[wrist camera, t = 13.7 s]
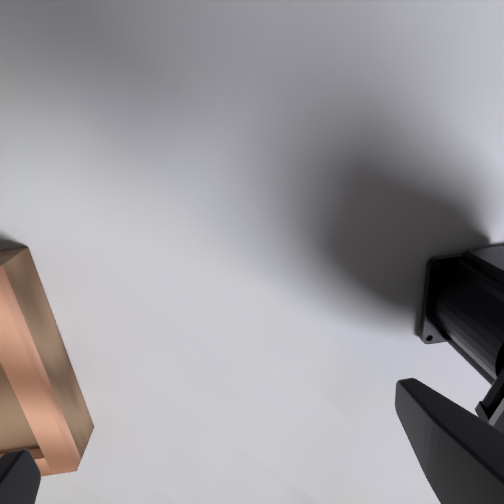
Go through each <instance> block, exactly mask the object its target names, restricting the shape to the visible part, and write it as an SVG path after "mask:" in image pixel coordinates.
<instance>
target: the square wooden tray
mask: <svg viewBox="0 0 504 504" xmlns="http://www.w3.org/2000/svg"><path fill="white" fill-rule="evenodd" d="M93 429H94V425H93V423H92V420H91V417H90V414H89V412H88V409H87V406H86V403H85V401H84V398H83V395H82V393H81V390H80V387H79V384H78V382H77V379H76V376H75V373H74V371H73V368H72V365H71V363H70V360H69V357H68V354H67V352H66V349H65V346H64V343H63V341H62V338H61V335H60V333H59V330H58V327H57V324H56V322H55V319H54V316H53V313H52V311H51V308H50V305H49V302H48V300H47V297H46V294H45V292H44V289H43V286H42V283H41V281H40V278H39V275H38V272H37V270H36V267H35V264H34V262H33V259H32V256H31V253H30V251H29V248H28V247H25V248H16V249H8V250H0V458H1V457H2V456H3V455H4V454H5V453H7V452H9V451H12V450H18V449H23V448H25V449H28V450H29V451H30V452H31V454H32V456H33V458H34V460H35V462H36V464H37V466H38V467H39V469H40V473H41V476H47V475H54V474H60V473H67V472H73V471H77V469H78V466H79V464H80V461H81V459H82V456H83V454H84V451H85V449H86V446H87V444H88V441H89V439H90V436H91V434H92V431H93Z"/></svg>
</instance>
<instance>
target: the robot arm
mask: <svg viewBox="0 0 504 504" xmlns="http://www.w3.org/2000/svg"><path fill="white" fill-rule="evenodd" d="M436 263H438V265H437V266H436V267H434V266H435V264H436ZM419 336H420V339H421V340H422V341H423V342H424V343H425V344H433V343H440V342H448V343H449V344H450V345H451V346H452V347H453V348H454V349H455V350H456V351H457V352H458V353H459V354H460V355H461V356H462V357H463V358H464V359H465V360H466V361H467V362H468V363H469V364H470V365H472V366H473V367H474V368H475V369H476V370H477V371H478V372H479V373H480V374H481V375H482V376H483V377H484V378H485V379H486V380H487V381H488V382H489V383H490V384H491V385H492V386H491V388H490V389H489V391H488V393H487V394H486V396H485V397H484V399H483V401H480V402H479V403H478V405H477V406H476V408H475V411H476V413H477V415H478V417H477V416H476V415H474V414H472V413H471V412H469V411H467V410H466V409H464V408H463V407H461V406H459V405H458V404H456V403H454V402H453V401H451V400H449V399H448V398H446V397H445V396H443V395H441V394H440V393H438V392H436V391H435V390H433V389H431V388H430V387H428V386H426V385H425V384H423V383H422V382H420V381H418V380H417V379H414V378H408V379H402V380H399V381H397V383H396V395H395V408H396V412H397V415H398V417H399V419H400V421H401V424H402V426H403V428H404V430H405V432H406V435H407V437H408V439H409V441H410V443H411V446H412V448H413V450H414V452H415V454H416V457H417V459H418V461H419V463H420V465H421V468H422V470H423V472H424V474H425V476H426V478H427V480H428V482H429V484H430V485H431V487H432V489H433V491H434V492H435V494H436V496H437V498H438V499H439V501H440V503H441V504H504V246H496V247H488V248H480V249H472V250H466V251H465V252H463V253H460V254H452V255H444V256H436V257H433V258H431V259H430V260H429V261H428V263H427V269H426V279H425V288H424V297H423V307H422V316H421V326H420V335H419ZM427 336H429V337H427ZM426 337H427V338H426ZM40 480H41V473H40V469H39V467H38V466H37V464H36V462H35V460H34V458H33V456H32V454H31V452H30V451H29V450H28V449H25V448H23V449H18V450H12V451H9V452H7V453H5V454H4V455H3V456H2V457H1V458H0V504H35V500H36V496H37V492H38V489H39V485H40Z"/></svg>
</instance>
